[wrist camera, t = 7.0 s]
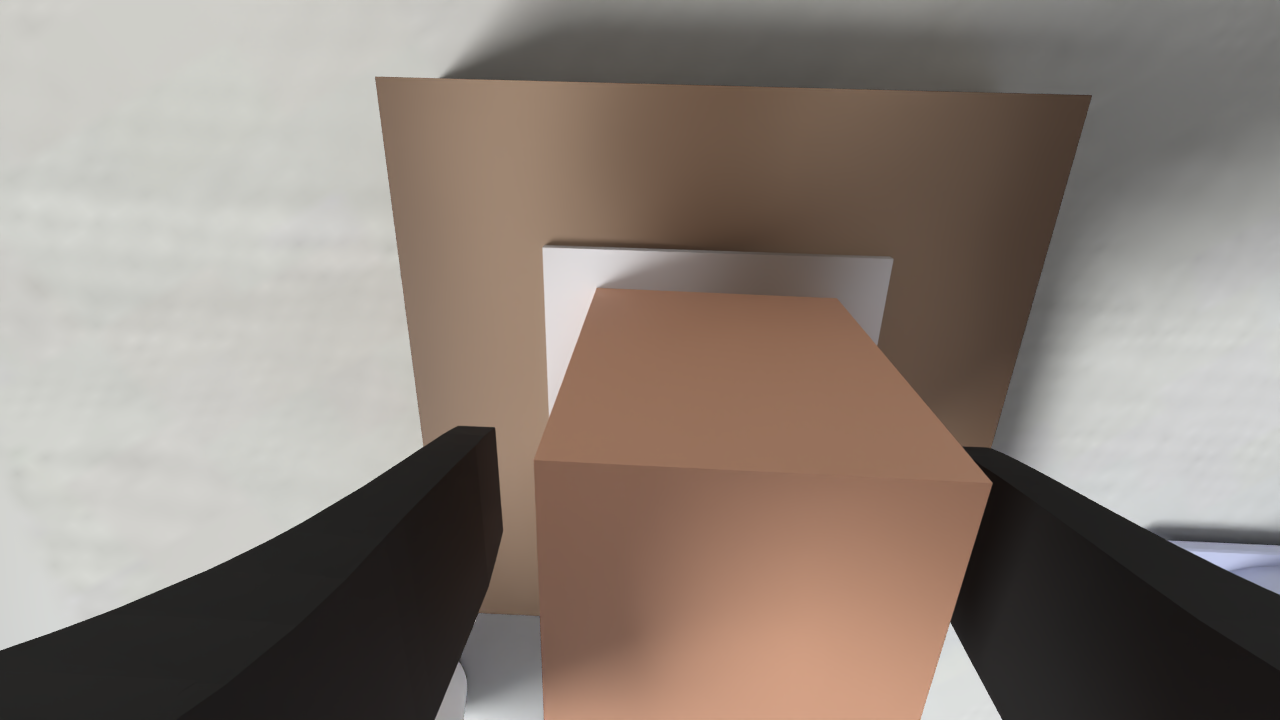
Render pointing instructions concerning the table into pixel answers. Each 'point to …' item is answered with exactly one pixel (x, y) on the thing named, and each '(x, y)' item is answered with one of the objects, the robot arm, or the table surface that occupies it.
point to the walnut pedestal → (708, 236)
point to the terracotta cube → (744, 517)
